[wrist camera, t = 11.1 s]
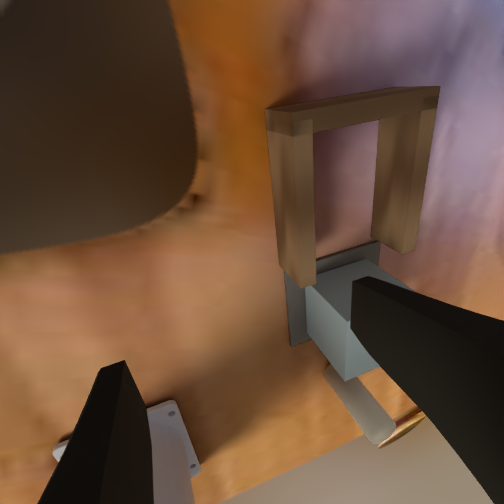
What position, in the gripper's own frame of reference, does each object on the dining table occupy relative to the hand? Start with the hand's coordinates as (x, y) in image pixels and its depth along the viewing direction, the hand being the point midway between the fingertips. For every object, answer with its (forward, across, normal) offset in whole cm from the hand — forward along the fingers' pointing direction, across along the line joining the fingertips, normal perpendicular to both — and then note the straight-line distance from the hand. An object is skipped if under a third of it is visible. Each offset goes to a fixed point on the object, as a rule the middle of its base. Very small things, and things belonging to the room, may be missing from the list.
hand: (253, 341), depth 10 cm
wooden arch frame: (+9, -9, 0) cm, 13 cm away
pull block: (+9, -9, +11) cm, 17 cm away
